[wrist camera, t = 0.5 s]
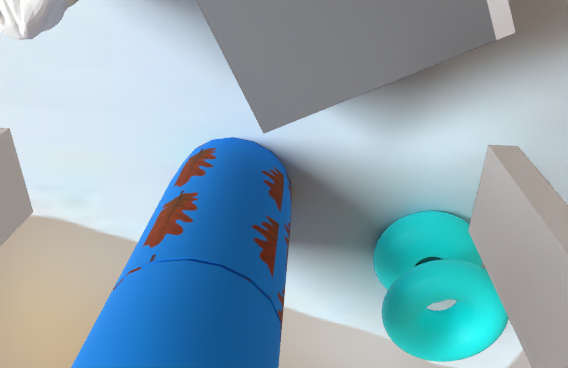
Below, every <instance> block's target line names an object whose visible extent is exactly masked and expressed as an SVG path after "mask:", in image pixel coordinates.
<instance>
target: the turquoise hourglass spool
mask: <svg viewBox="0 0 568 368" xmlns="http://www.w3.org/2000/svg"><path fill="white" fill-rule="evenodd" d="M469 226H470V225H469V224H468V223H467V222H465V221H464V220H462V219H461V218H459V217H457V216H454V215H452V214H449V213H445V212H439V211H423V212H417V213H413V214H410V215H407V216H405V217H403V218H401V219H399V220H397V221H396V222H394V223H393V224H392V225H390V226H389V227H388V228H387V229H386V230H385V231H384V232H383V234H382V235H381V236H380V238H379V240H378V242H377V244H376V247H375V250H374V257H373V261H374V268H375V272H376V274H377V276H378V278H379V280H380V282H381V283H382V284H383V285H384V287H385V288H387V289H388V291H387V293H386V296H385V298H384V301H383V306H382V319H383V324H384V327H385V329H386V331H387V333H388V335H389V337H390V338H391V340H392V341H393V342H394V343H395V344H396V345H397V346H398V347H400V348H401V349H402V350H404V351H405V352H407V353H409V354H411V355H413V356H415V357H418V358H421V359H425V360H430V361H443V362H444V361H455V360H461V359H464V358H468V357H471V356H473V355H475V354H478V353H480V352H481V351H483V350H485V349H486V348H488V347H489V346H490V345H491V344H493V343H494V342H495V341H496V340H497V339H498V338H499V336H500V335H501V334H502V332H503V331H504V329H505V327H506V324H507V321H508V318H509V317H508V315H507V313H506V311H505V309H504V307H503V304H502V302H501V300H500V298H499V296H498V294H497V292H496V289H495V287H494V285H493V283H492V281H491V279H490V276H489V274H488V272H487V270H486V269H484V268H482V267H481V266H482V262H483V261H482V259H481V257H480V255H479V253H478V251H477V249H476V246H475V244H474V242H473V240H472V238H471V236H470V234H469V231H468V230H469ZM428 257H439V258H441V260H434V261H429V262H425V263H422V264H420V265H417V266H415V265H416V264H417V263H418V262H419V261H421V260H422V259H424V258H428ZM447 299H454V300H458V301H457V302H456V303H455V304H454V305H453V306H452V307H450V308H448V309H446V310H442V311H433V310H430V309H427V308H426V307H427V306H429V305H430V304H432V303H435V302H440V301H444V300H447Z"/></svg>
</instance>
